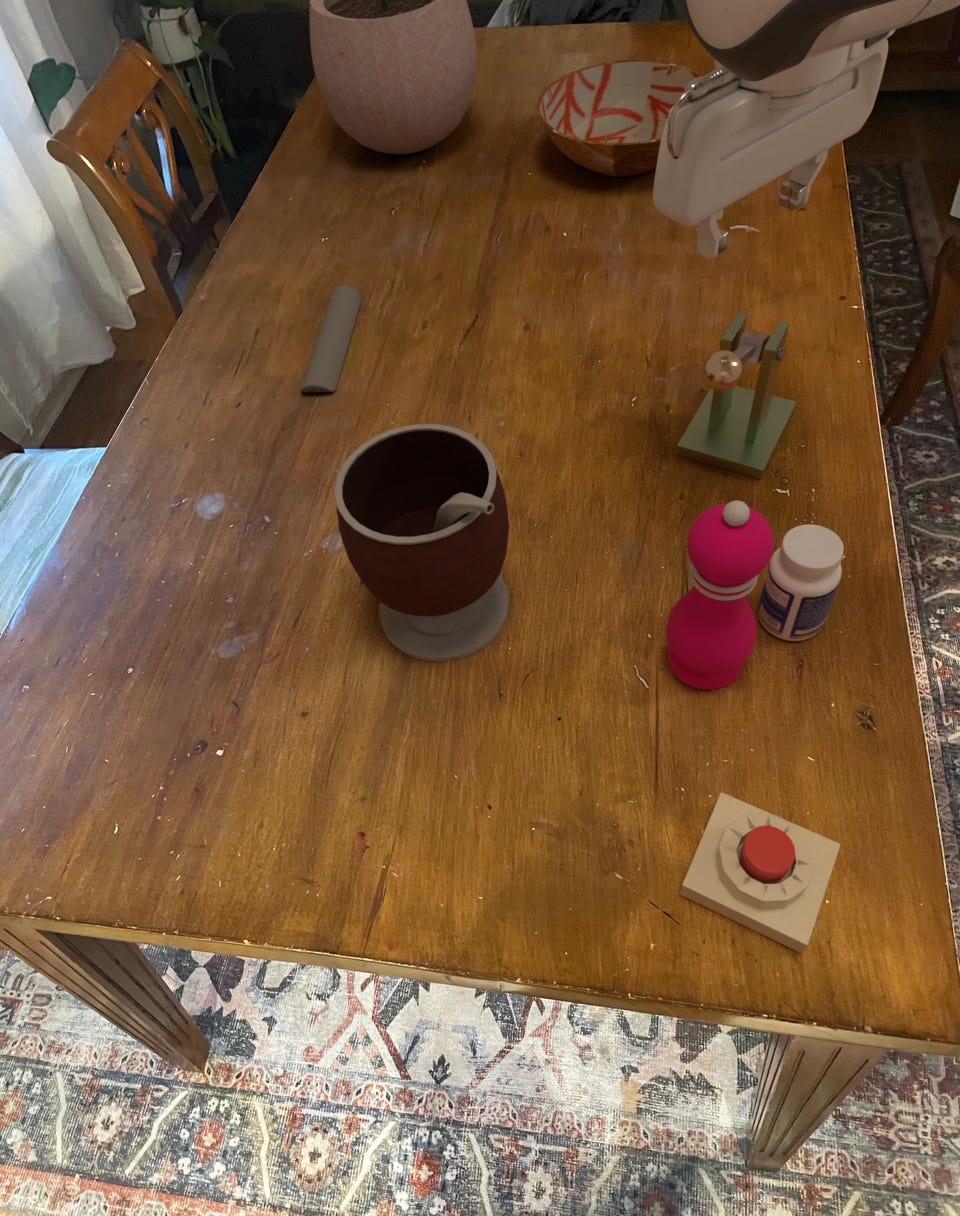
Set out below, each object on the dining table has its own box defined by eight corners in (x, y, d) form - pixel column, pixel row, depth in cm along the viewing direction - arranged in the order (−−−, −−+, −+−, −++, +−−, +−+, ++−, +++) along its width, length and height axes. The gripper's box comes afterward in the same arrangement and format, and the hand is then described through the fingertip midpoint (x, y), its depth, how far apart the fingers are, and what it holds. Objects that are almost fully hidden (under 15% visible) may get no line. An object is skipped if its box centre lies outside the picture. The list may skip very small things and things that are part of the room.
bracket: (760, 480, 86) (785, 378, 75) (675, 454, 89) (688, 354, 78) (794, 411, 91) (821, 307, 80) (713, 390, 94) (729, 287, 84)
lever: (731, 399, 71) (742, 359, 70) (692, 389, 73) (702, 349, 71) (768, 365, 82) (778, 330, 80) (733, 357, 83) (743, 322, 82)
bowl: (732, 126, 127) (740, 67, 121) (680, 214, 115) (686, 154, 108) (575, 108, 135) (575, 52, 129) (511, 189, 123) (507, 132, 116)
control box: (833, 854, 63) (847, 834, 60) (801, 953, 60) (813, 938, 56) (717, 802, 66) (724, 781, 63) (679, 894, 63) (684, 876, 59)
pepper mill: (665, 622, 77) (686, 463, 61) (747, 629, 75) (792, 470, 59) (659, 690, 73) (681, 540, 57) (747, 700, 71) (794, 549, 55)
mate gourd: (342, 613, 81) (281, 463, 65) (445, 528, 86) (412, 368, 70) (456, 707, 74) (419, 565, 58) (561, 608, 79) (555, 451, 63)
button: (796, 847, 60) (801, 838, 59) (781, 890, 59) (786, 882, 57) (749, 826, 61) (753, 817, 60) (733, 867, 60) (737, 859, 58)
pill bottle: (826, 597, 77) (854, 525, 68) (820, 649, 73) (848, 579, 65) (760, 585, 78) (780, 513, 70) (751, 636, 75) (772, 566, 67)
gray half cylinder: (299, 397, 100) (295, 385, 99) (331, 297, 111) (328, 285, 110) (334, 397, 100) (330, 384, 98) (362, 296, 111) (359, 284, 109)
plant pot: (320, 185, 129) (259, -54, 105) (349, 110, 143) (301, -117, 118) (476, 178, 126) (450, -70, 101) (491, 102, 139) (471, -133, 115)
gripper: (708, 106, 53) (688, 301, 64) (919, -3, 59) (867, 192, 70) (638, 77, 56) (630, 267, 67) (844, -23, 62) (805, 167, 73)
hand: (752, 228), depth 68 cm, fingers open, 8 cm apart
